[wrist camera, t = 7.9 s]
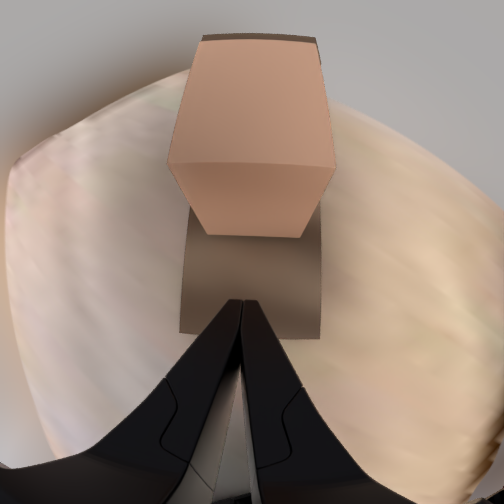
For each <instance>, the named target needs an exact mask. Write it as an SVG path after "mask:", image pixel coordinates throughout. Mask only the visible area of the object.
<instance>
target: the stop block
mask: <svg viewBox="0 0 504 504" xmlns="http://www.w3.org/2000/svg"><path fill="white" fill-rule="evenodd" d="M234 39H262V40H283V41H296V42H306V43H315V44H316V47H317V51H318V46H317V43H316V38H315V37H307V36H297V35H284V34H263V33H233V34H213V35H203V37H202V40H201V41H212V40H234ZM318 56H319V60H320V55H319V51H318ZM320 65H321V60H320ZM231 298H232V299H242V300H243V301H244V300H245V299H253V300H258V301H259V303H260V305H261V307H262V309H263V311H264V313H265V315H266V317H267V319H268V320H269V322H270V324H271V326H272V328H273V330H274V332H275V334H276V336H277V338H278V339H320V321H321V224H320V201H319V202H318V204H317V206H316V208H315V210H314V212H313V214H312V216H311V218H310V220H309V222H308V223H307V225H306V227H305V229H304V231H303V233H302V235H301V237H300V238H290V237H265V236H238V235H207V233H206V231H205V230H204V228H203V226H202V225H201V223H200V221H199V219H198V218H197V216H196V214H195V212H194V211H193V209H192V207H191V206H190V212H189V220H188V229H187V238H186V248H185V258H184V270H183V282H182V296H181V312H180V331H179V333H186V334H197V335H200V333H201V332H202V331H203V330H204V329H205V327H206V326H207V325H208V324H209V322H210V321H211V320H212V319H213V318H214V316H215V315H216V314H217V313H218V311H219V310H220V309H221V308H222V307H223V305H224V304H225V303H226V302H227V300H228V299H231Z"/></svg>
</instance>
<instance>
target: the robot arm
mask: <svg viewBox="0 0 504 504" xmlns="http://www.w3.org/2000/svg"><path fill="white" fill-rule="evenodd" d="M240 365H241V385H242V398H243V411H244V423H245V435H246V446H247V457H248V468H249V478H250V488H251V493H248V494H245V495H242V496H238V497H235V498H229V499H225V500H222V501H218V502H214V503H212V498H213V494H214V493H213V492H214V489H215V485H216V480H217V476H218V471H219V467H220V462H221V458H222V453H223V448H224V444H225V439H226V435H227V430H228V425H229V421H230V416H231V411H232V406H233V402H234V397H235V392H236V387H237V383H238V378H239V372H240ZM165 377H166V378H163V379H162V380H161V382H160V383H159V384H158V385H157V386H156V388H155V389H154V390H153V391H152V392H151V393H150V394H149V395H148V396H147V398H146V399H145V400H144V401H143V402H142V403H141V404H140V405H139V406H138V407H137V408H136V409H135V410H134V411H132V412H131V413H130V414H129V415H128V416H127V417H126V418H125V419H124V420H123V421H122V422H120V423H119V424H118V425H117V426H116V427H115V428H114V429H113V430H111V431H110V432H109V433H108V434H107V435H106V436H105V437H103V438H102V439H101V440H100V441H99V442H98V443H96V444H95V445H94V446H92V447H91V448H89V449H87V450H85V451H83V452H81V453H79V454H76V455H73V456H69V457H66V458H62V459H58V460H54V461H50V462H46V463H42V464H38V465H33V466H28V467H23V468H16V469H11V468H9V467H7V466H6V465H4V464H2V463H1V462H0V504H417V503H415V502H413V501H411V500H409V499H407V498H405V497H403V496H401V495H399V494H397V493H396V492H394V491H392V490H390V489H388V488H387V487H385V486H383V485H381V484H380V483H378V482H377V481H375V480H374V479H372V478H371V477H370V476H369V475H368V474H366V473H365V472H364V471H363V470H362V469H361V467H360V466H359V465H358V464H357V463H356V462H355V460H354V459H353V458H352V457H351V455H350V454H349V453H348V451H347V450H346V449H345V448H344V446H343V445H342V444H341V443H340V441H339V440H338V439H337V437H336V436H335V435H334V433H333V432H332V431H331V430H330V428H329V427H328V425H327V424H326V423H325V421H324V420H323V418H322V417H321V415H320V414H319V412H318V411H317V409H316V407H315V406H314V404H313V402H312V401H311V399H310V397H309V395H308V393H307V392H306V390H305V388H304V387H303V384H302V383H301V381H300V379H299V377H298V375H297V373H296V371H295V370H294V368H293V366H292V364H291V362H290V360H289V358H288V356H287V355H286V353H285V351H284V349H283V347H282V345H281V343H280V341H279V339H278V338H277V336H276V334H275V332H274V330H273V328H272V326H271V324H270V322H269V320H268V319H267V317H266V315H265V313H264V311H263V309H262V307H261V305H260V303H259V301H258V300H253V299H245V300H244V301H243V300H242V299H232V298H231V299H228V300H227V302H226V303H225V304H224V305H223V307H222V308H221V309H220V310H219V311H218V313H217V314H216V315H215V316H214V318H213V319H212V320H211V321H210V322H209V324H208V325H207V326H206V327H205V329H204V330H203V331H202V332H201V333H200V335H199V336H198V337H197V338H196V339H195V341H194V342H193V343H192V344H191V346H190V347H189V348H188V349H187V350H186V352H185V353H184V354H183V355H182V356H181V358H180V359H179V360H178V361H177V362H176V364H175V365H174V366H173V367H172V368H171V370H170V371H169V372H168V373H167V375H166V376H165ZM464 504H504V488H503V489H501V490H499V491H497V492H496V493H494V494H492V495H490V496H489V497H487V498H478V499H475V500H472V501H469V502H467V503H464Z"/></svg>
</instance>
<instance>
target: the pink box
mask: <svg viewBox="0 0 504 504" xmlns="http://www.w3.org/2000/svg"><path fill="white" fill-rule="evenodd" d="M167 165H168V167H169V169H170V170H171V172H172V174H173V176H174V177H175V179H176V181H177V183H178V185H179V186H180V188H181V190H182V192H183V193H184V195H185V197H186V199H187V200H188V202H189V204H190V206H191V207H192V209H193V211H194V212H195V214H196V216H197V218H198V219H199V221H200V223H201V225H202V226H203V228H204V230H205V231H206V233H207V235H238V236H265V237H290V238H300V237H301V235H302V233H303V231H304V229H305V227H306V225H307V223H308V222H309V220H310V218H311V216H312V214H313V212H314V210H315V208H316V206H317V204H318V202H319V201H320V199H321V197H322V195H323V193H324V191H325V189H326V187H327V185H328V183H329V181H330V179H331V177H332V175H333V173H334V171H335V169H336V163H335V154H334V145H333V137H332V130H331V123H330V116H329V109H328V103H327V97H326V91H325V86H324V81H323V75H322V70H321V65H320V60H319V56H318V51H317V47H316V44H315V43H306V42H296V41H283V40H262V39H234V40H212V41H200V43H199V46H198V48H197V52H196V54H195V57H194V61H193V64H192V67H191V70H190V73H189V77H188V80H187V83H186V87H185V90H184V94H183V97H182V101H181V105H180V108H179V112H178V116H177V120H176V124H175V128H174V132H173V137H172V141H171V146H170V150H169V155H168V160H167Z"/></svg>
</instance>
